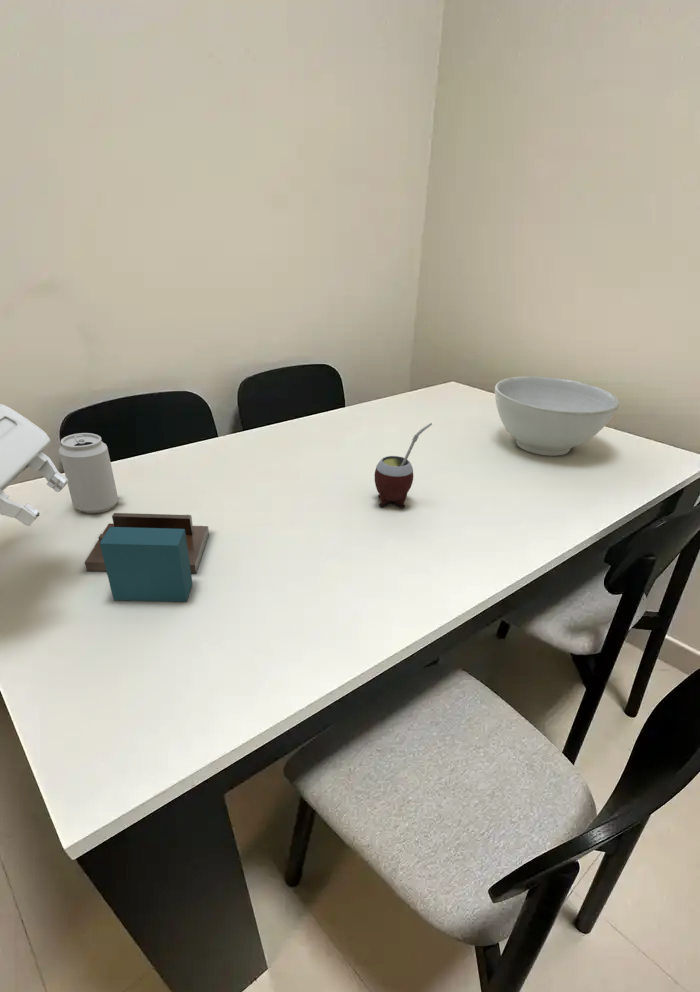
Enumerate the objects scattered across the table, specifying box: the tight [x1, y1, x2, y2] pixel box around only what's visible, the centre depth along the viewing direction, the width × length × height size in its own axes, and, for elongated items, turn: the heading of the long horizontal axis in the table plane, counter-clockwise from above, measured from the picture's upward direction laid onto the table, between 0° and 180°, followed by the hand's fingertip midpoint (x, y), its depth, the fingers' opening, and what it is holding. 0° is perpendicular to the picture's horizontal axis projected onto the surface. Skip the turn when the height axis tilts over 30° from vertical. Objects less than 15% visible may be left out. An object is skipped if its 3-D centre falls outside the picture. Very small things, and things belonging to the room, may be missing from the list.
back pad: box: [100, 527, 194, 603], centre depth 80 cm, size 10×4×9 cm, turn 92°
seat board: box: [84, 512, 210, 574], centre depth 89 cm, size 16×12×4 cm
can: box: [58, 432, 119, 514], centre depth 98 cm, size 8×8×12 cm
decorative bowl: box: [494, 375, 620, 457], centre depth 132 cm, size 27×27×12 cm
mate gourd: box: [373, 422, 433, 509], centre depth 104 cm, size 8×8×15 cm
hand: (50, 502), depth 73 cm, fingers open, 8 cm apart
